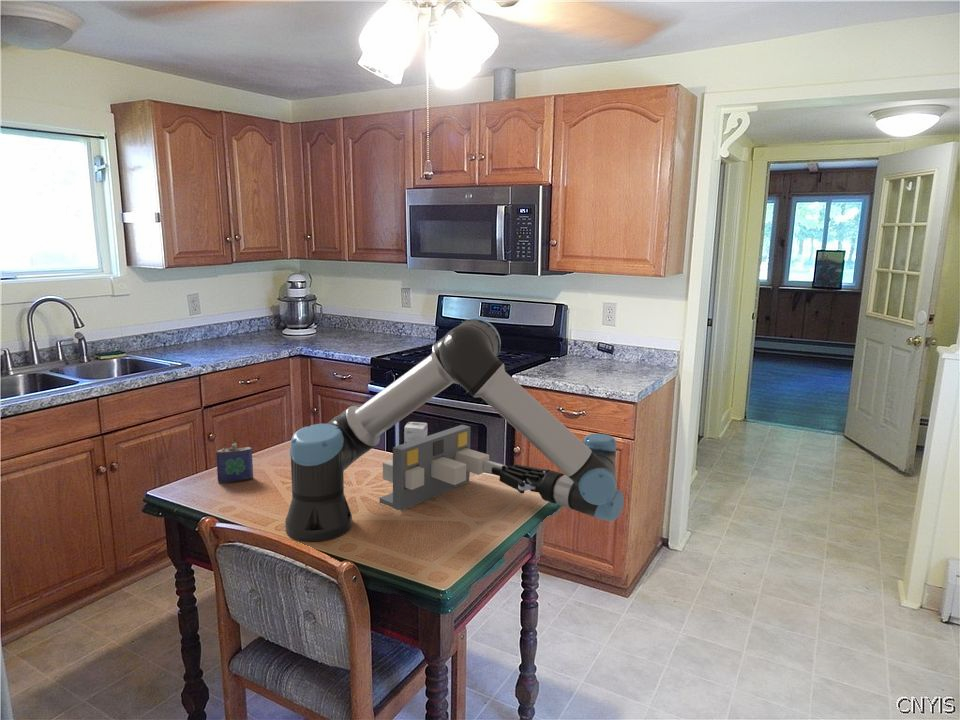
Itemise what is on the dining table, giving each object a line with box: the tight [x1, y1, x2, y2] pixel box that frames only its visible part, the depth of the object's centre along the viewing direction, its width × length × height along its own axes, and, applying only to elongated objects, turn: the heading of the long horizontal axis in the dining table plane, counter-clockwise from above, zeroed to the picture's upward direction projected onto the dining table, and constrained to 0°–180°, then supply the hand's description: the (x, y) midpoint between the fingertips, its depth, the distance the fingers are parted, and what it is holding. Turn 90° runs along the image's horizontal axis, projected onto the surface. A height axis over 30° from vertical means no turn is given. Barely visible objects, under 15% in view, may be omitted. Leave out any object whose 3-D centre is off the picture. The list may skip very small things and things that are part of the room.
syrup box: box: [403, 421, 428, 444], centre depth 183 cm, size 6×6×14 cm
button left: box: [382, 458, 424, 490], centre depth 162 cm, size 4×10×4 cm, turn 51°
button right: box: [455, 448, 490, 476], centre depth 172 cm, size 4×10×4 cm, turn 51°
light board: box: [378, 424, 472, 512], centre depth 169 cm, size 26×8×16 cm, turn 141°
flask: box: [215, 442, 254, 484], centre depth 174 cm, size 9×3×11 cm, turn 114°
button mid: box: [431, 456, 466, 485], centre depth 165 cm, size 4×10×4 cm, turn 51°
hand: (485, 465), depth 169 cm, fingers closed
